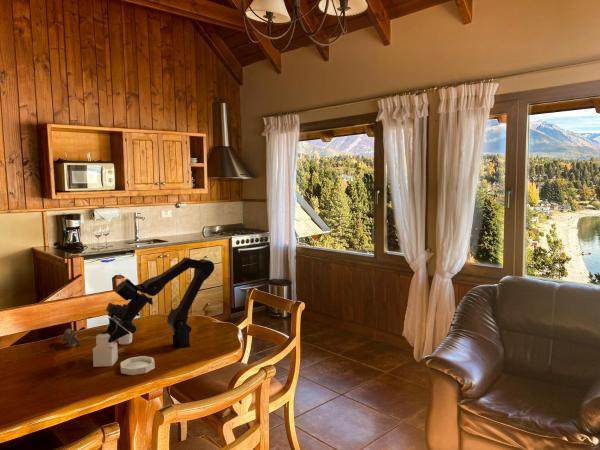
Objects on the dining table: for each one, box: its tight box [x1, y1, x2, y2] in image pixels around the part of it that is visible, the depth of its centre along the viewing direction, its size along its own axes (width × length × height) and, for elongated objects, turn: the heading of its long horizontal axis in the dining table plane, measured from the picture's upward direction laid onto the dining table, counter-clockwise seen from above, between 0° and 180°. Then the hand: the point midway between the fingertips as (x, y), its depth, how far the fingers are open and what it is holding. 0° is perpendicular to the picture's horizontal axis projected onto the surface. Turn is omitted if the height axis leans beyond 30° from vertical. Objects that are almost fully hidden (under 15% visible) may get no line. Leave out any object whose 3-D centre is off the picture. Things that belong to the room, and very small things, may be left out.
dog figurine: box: [58, 328, 82, 348], centre depth 198 cm, size 12×6×7 cm, turn 46°
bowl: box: [120, 355, 156, 376], centre depth 173 cm, size 12×12×2 cm
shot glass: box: [117, 332, 133, 345], centre depth 200 cm, size 7×7×7 cm
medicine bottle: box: [92, 330, 119, 368], centre depth 177 cm, size 7×7×12 cm
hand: (106, 339), depth 177 cm, fingers closed on medicine bottle, 6 cm apart
